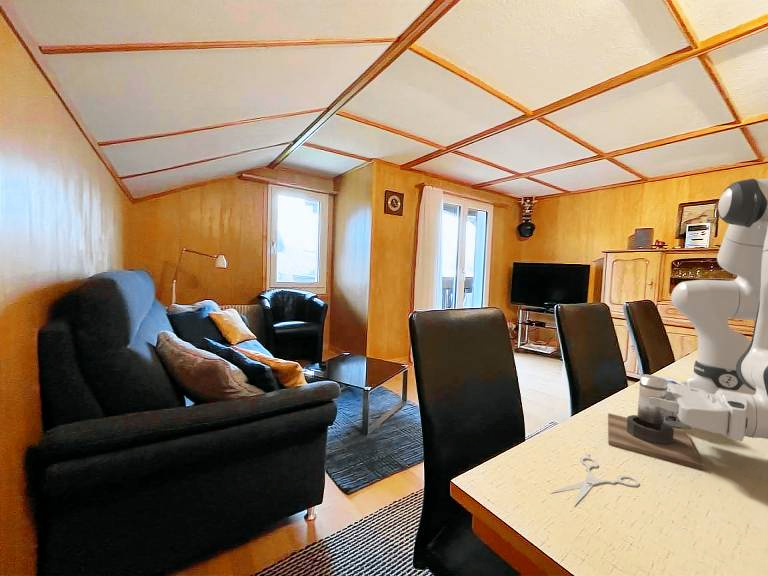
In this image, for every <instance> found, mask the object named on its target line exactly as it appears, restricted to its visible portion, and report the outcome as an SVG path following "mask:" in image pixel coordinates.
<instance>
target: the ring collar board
mask: <svg viewBox="0 0 768 576" xmlns="http://www.w3.org/2000/svg"><path fill="white" fill-rule="evenodd" d="M607 426H608V428H607V430H608V432H607V435H608V436H607V440H608V442H607V443H608V445H610V446H613V447H617V448H622V449H625V450H629V451H632V452H635V453H639V454H643V455H647V456H650V457H652V458H653V457H654V458H658V459H661V460H665V461H668V462H672V463H676V464H680V465H683V466H686V467H690V468H694V469H698V470H701V471H703V470H704V464H703V462H702V460H701V458H700V456H699V455H698V452H697V450H696V448H695V446H694V445H693V443H692V440H691V439H690V437H689V435H688V433H687V431H686V430H683V429H679V428H676V427H673V426H670V425H668V424H667V423H665V422H664V424H653V423H649V422H646V421H643V420H641V419H639V418H638V417H637V415H635V414H632V415H627V417H626V416H622V415H617V414H614V413H610V412H608V414H607Z"/></svg>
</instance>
